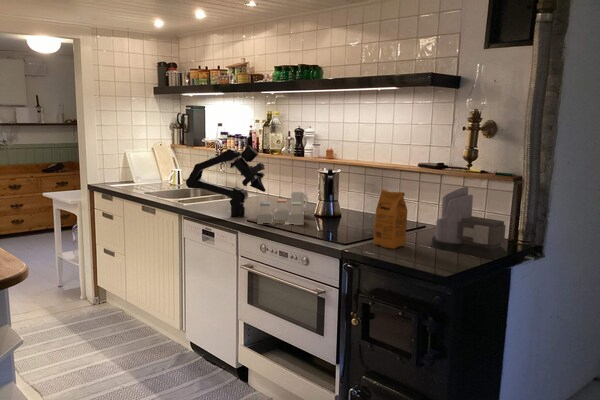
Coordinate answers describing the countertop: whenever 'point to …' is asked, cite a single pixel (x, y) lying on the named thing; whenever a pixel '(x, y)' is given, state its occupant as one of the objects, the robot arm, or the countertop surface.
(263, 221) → the keypad
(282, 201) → the key terracotta
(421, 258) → the countertop surface
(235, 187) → the robot arm
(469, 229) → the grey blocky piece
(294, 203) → the key sage
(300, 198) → the mug
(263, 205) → the key slate
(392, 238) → the coffee package
